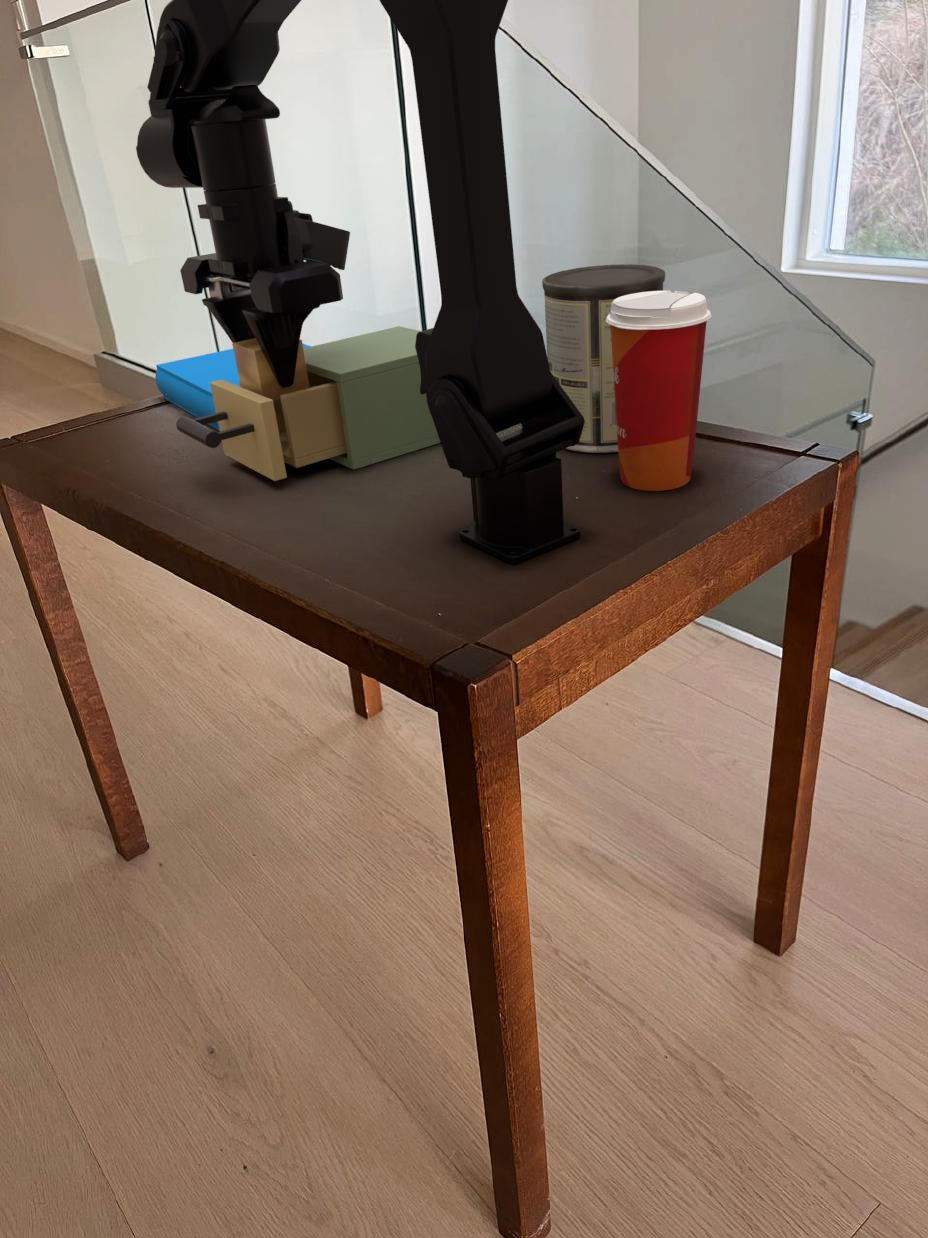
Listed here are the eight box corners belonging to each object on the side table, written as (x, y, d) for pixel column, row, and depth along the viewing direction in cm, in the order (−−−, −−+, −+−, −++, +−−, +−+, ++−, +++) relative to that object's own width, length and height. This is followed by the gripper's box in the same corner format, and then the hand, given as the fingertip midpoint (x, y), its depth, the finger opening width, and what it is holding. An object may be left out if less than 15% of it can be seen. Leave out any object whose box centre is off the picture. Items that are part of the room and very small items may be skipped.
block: (310, 391, 83) (302, 339, 81) (264, 403, 81) (254, 350, 79) (287, 383, 86) (278, 332, 84) (241, 394, 84) (231, 343, 82)
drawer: (225, 496, 79) (208, 416, 75) (178, 467, 86) (161, 393, 83) (397, 444, 87) (388, 369, 84) (340, 421, 94) (330, 353, 91)
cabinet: (353, 470, 84) (339, 373, 80) (293, 442, 93) (277, 353, 89) (475, 432, 91) (468, 341, 87) (408, 409, 99) (399, 325, 95)
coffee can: (597, 411, 94) (595, 260, 87) (684, 429, 87) (690, 267, 80) (524, 440, 88) (516, 280, 81) (612, 462, 81) (611, 289, 74)
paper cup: (644, 455, 82) (646, 285, 75) (723, 473, 76) (732, 292, 70) (586, 483, 77) (583, 305, 70) (666, 504, 72) (670, 314, 65)
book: (284, 337, 118) (385, 366, 99) (290, 371, 120) (391, 407, 101) (149, 365, 110) (232, 403, 91) (158, 402, 112) (241, 447, 93)
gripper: (387, 176, 73) (409, 378, 80) (277, 175, 86) (305, 348, 94) (255, 194, 67) (292, 409, 75) (160, 190, 81) (200, 373, 88)
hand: (274, 381), depth 83 cm, fingers closed on block, 4 cm apart
